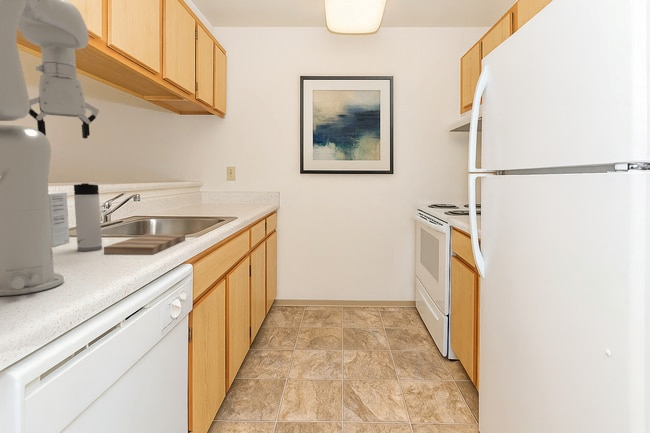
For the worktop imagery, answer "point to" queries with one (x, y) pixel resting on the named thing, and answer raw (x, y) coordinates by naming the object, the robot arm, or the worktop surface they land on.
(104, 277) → the worktop surface
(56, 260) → the worktop surface
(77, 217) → the travel mug
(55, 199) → the supplement box
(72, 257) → the worktop surface
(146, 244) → the walnut board
